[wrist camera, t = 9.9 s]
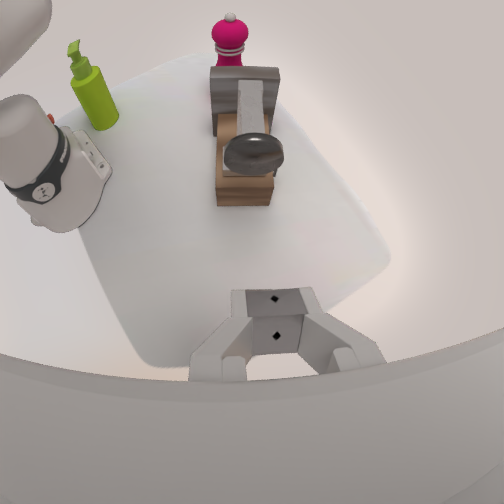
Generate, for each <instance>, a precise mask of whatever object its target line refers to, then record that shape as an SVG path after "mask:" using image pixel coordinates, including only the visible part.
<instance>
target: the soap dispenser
mask: <svg viewBox="0 0 504 504" xmlns="http://www.w3.org/2000/svg"><path fill="white" fill-rule="evenodd" d="M79 43H80V40H77V41H75V42H73V43H71V44H69V46H68V54H67V55H68V57H70V56H71V58H72V61H73V63H72V64H71V66H70V68H71V70H72V72H73V75H74V77H73V78H72V80H71V86H72V88H73V90H74V92H75V94H76V96H77V98H78V99H79V101H80V103H81V105H82V107H83V109H84V111H85V112H86V114H87V116H88V118H89V119H90V121H91V123H92V125H93V126H94V128H95V129H96V130H99V131H101V130H106V129H108V128H110V127H111V126H113V125H114V124H115V123H116V121H117V120H118V117H119V113H118V111H117V109H116V107H115V104H114V102H113V100H112V97H111V95H110V93H109V90H108V88H107V85H106V83H105V81H104V78H103V76H102V73H101V71H100V68H99V67H98V66H91V65H90V63H89V60H88V58H87V57H82V56H81V54H80V52H79Z"/></svg>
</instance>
